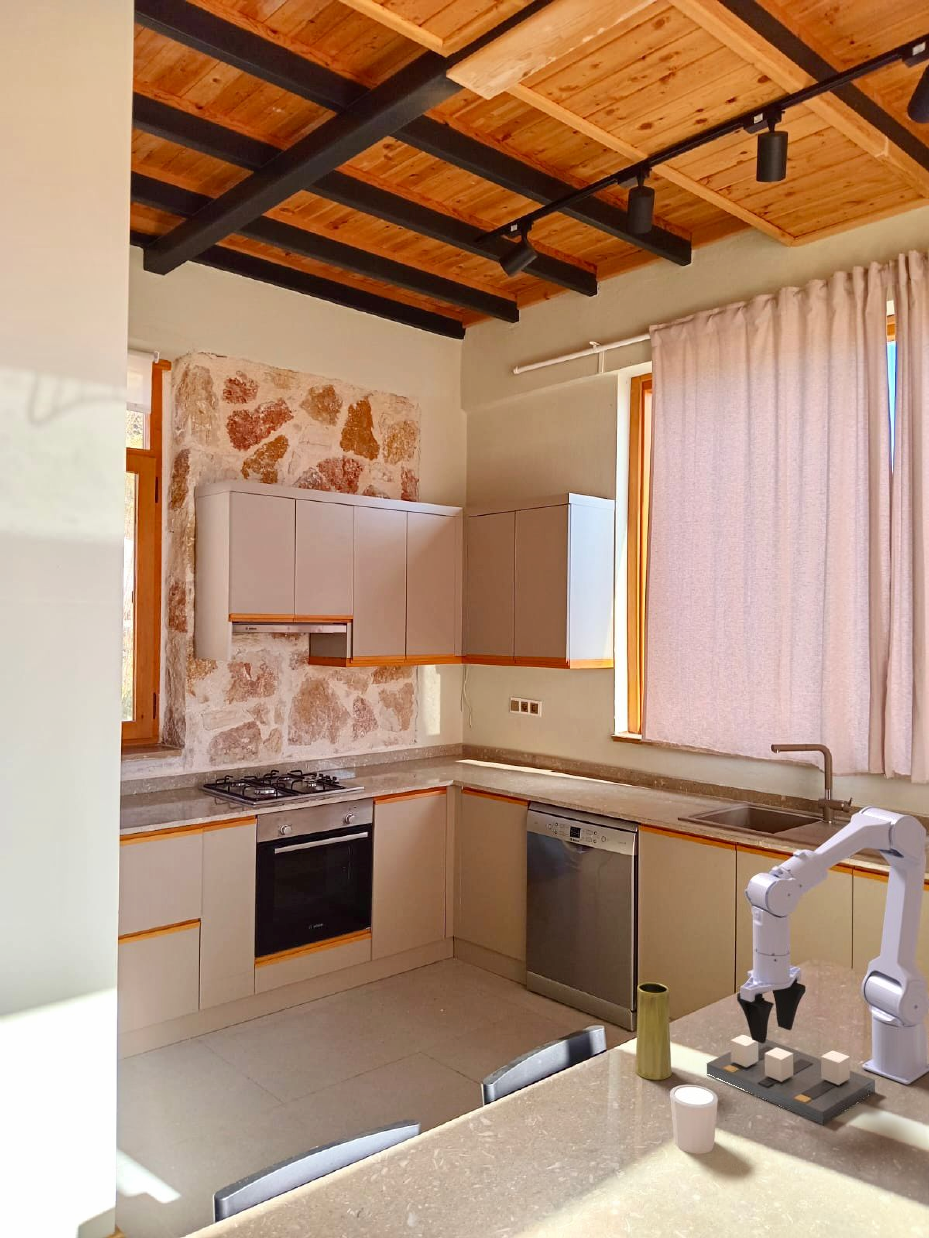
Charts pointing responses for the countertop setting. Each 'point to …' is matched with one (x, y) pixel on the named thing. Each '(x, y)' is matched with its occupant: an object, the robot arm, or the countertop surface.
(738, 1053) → the switch
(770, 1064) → the switch
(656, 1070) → the vase
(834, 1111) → the console
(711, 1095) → the white cup
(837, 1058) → the switch
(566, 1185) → the countertop surface
